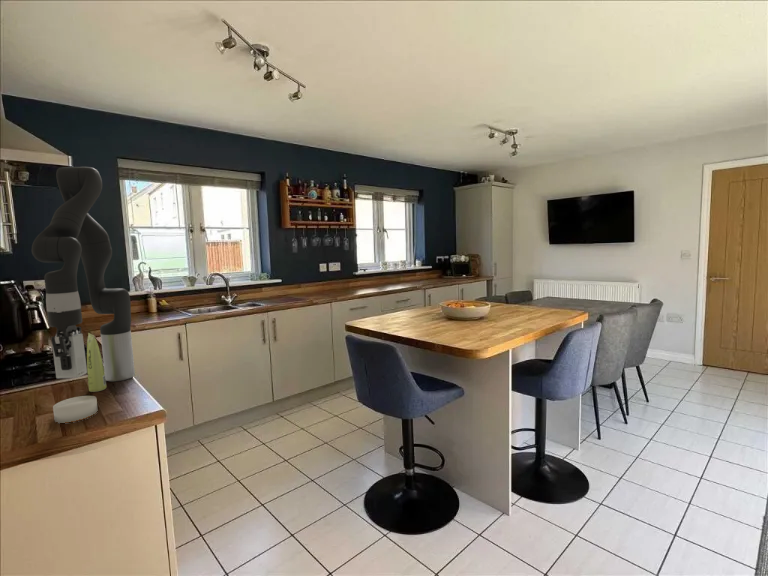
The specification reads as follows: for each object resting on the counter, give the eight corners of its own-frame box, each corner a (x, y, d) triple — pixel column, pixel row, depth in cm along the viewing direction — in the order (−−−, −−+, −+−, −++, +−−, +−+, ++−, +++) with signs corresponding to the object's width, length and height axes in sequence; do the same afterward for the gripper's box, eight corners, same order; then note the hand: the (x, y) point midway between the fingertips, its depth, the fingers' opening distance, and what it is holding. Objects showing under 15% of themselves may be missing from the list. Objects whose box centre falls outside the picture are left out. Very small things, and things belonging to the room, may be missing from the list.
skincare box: (87, 373, 117) (83, 333, 115) (77, 378, 113) (72, 336, 111) (66, 373, 117) (62, 333, 115) (55, 378, 112) (50, 337, 111)
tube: (83, 392, 134) (76, 335, 131) (94, 386, 139) (88, 332, 136) (100, 392, 134) (94, 335, 131) (110, 386, 139) (104, 331, 136)
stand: (63, 411, 119) (61, 398, 119) (102, 406, 122) (101, 393, 122) (48, 426, 110) (46, 412, 109) (91, 420, 113) (89, 406, 113)
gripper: (58, 305, 118) (65, 360, 120) (35, 313, 104) (43, 376, 106) (89, 303, 120) (94, 358, 122) (70, 311, 107) (76, 372, 109)
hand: (70, 366), depth 114 cm, fingers closed on skincare box, 5 cm apart
